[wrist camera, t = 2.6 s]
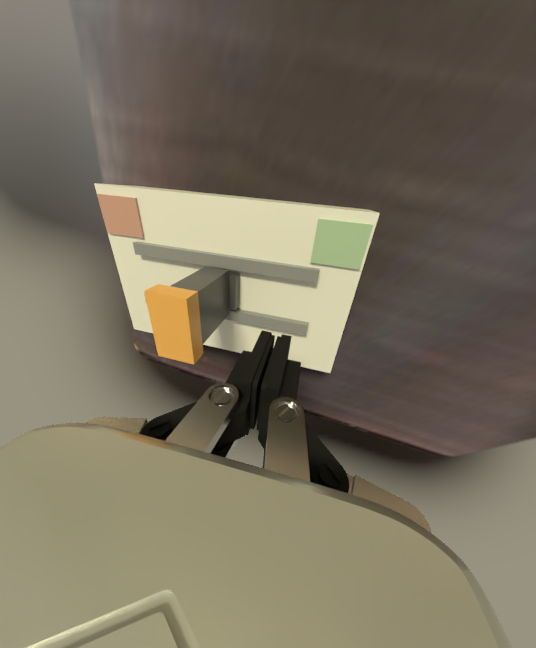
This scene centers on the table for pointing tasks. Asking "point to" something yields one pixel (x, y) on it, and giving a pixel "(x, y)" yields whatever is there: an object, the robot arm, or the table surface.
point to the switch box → (244, 261)
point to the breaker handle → (191, 311)
